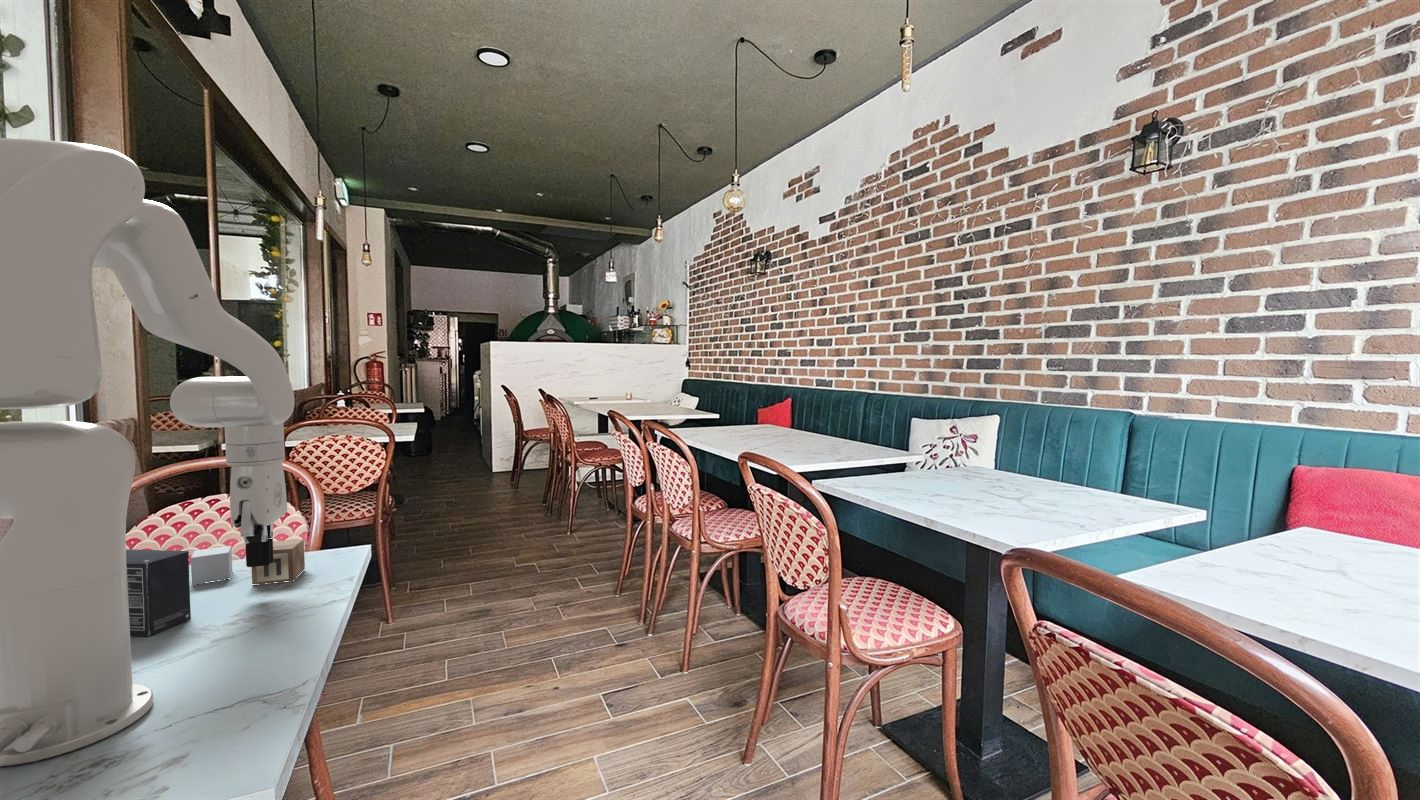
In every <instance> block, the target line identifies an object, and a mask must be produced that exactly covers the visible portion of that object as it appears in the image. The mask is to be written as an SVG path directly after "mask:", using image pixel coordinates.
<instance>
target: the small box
mask: <svg viewBox="0 0 1420 800" xmlns="http://www.w3.org/2000/svg"><path fill="white" fill-rule="evenodd" d="M189 554H190V551H189V550H167V549H166V550H165V549H161V550H160V549H129V548H126V565H127V580H128V601H129V622H130V637H144V636H145V637H146V638H147V637H151V636H153V635H155V634H158V633H161V632H162V631H165V630H168V629H170V628H173V627H175V626H177V625H179V624H182V623H184V622H187V621H189V620H191V619H192V616H191V615H192V613H191V594H190V593H191V591H190V590H191V589H190V588H191V587H190V563H189V561H190V558H189V557H190V555H189Z"/></svg>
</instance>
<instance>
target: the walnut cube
mask: <svg viewBox="0 0 1420 800" xmlns="http://www.w3.org/2000/svg"><path fill="white" fill-rule="evenodd" d="M273 558H274V560H273V562H272V563H271V564H269V565H267V566H257V567H251V585H252V584H265V583H274V582H284V581H293V580H295V579H296V577H297V576H298V575H299V574H300V573H301V572H302V571H303V570H304V569H305V568H306V566H305V539H303V538H302V539H301V538H300V539H291V540H288V539H287V540H275V541H274V540H273ZM305 570H306V569H305ZM296 580H297V579H296ZM296 580H295V581H296Z"/></svg>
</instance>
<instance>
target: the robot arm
mask: <svg viewBox="0 0 1420 800" xmlns="http://www.w3.org/2000/svg"><path fill="white" fill-rule="evenodd" d="M145 193H146V183H145V179H144V175H143V174H142V171H141V169H140V168H139V166H138V165H137V164H136V163H135V161H134V160H132V159H131V158H129V157H128V156H126V155H125V154H123V153H121V152H119V151H117V150H113V149H110V148H108V147H103V146H98V145H94V144H89V143H81V142H72V141H60V140H50V139H49V140H46V139H31V138H10V137H8V138H7V137H0V410H27V409H28V410H33V409H48V408H49V409H50V408H51V409H52V408H61V407H70V406H73V405H77V404H81V403H83V402H86V401H87V400H90V399H91V398H92V397H93V396H94V395H95V394H96V393H97V392H98V390H99V388H100V385H101V381H102V373H103V372H102V371H103V370H102V365H103V364H102V355H101V354H102V353H101V347H100V338H99V332H98V330H99V329H98V322H97V315H96V309H95V308H96V307H95V300H94V293H93V282H92V281H93V280H92V278H93V277H92V275H93V274H92V270H93V268H102V269H104V268H105V269H110V270H111V271H112V272H113V274H114V276H115V277H116V279H117V281H118V283H119V284H120V286H121V288H122V290H123V292H124V294H125V295H126V297H127V300H128V301H129V302H130V304H131V307H132V309H133V311H134V312H135V314H136V316H137V318H138V320H139V322H140V323H141V324H140V325H142V327H143V328H144V329H145V330H146V331H147V332H149V333H150V334H152V335H154V336H156V337H159V338H161V339H162V340H163V339H164V340H167V341H169V342H171V343H175V344H178V345H180V346H184V347H186V348H189V349H191V350H192V349H193V350H195V351H197V352H198V351H199V352H202V353H204V354H208V355H211V356H213V357H215V358H218V359H219V360H222V361H225V362H227V363H228V364H230V365H232V366H233V367H235V368H236V369H238V371H240V372H242V374H244V376H233V375H231V376H198V377H193V378H190V379H186V380H184V381H182V382H181V383H180V384H178V385H177V386H176V387H175V388H174V389H173V391H172V392H171V394H170V397H169V398H170V399H169V405H170V406H169V407H170V410H171V412H172V415H174V417H175V418H176V419H177V420H178V421H179V422H182V423H183V424H185V425H188V426H192V427H196V428H224V439H225V440H224V443H225V444H224V445H225V464H226V465H227V466H229V467H231V468H230V469H231V470H230V482H229V483H230V487H229V511H230V512H229V513H230V514H229V515H230V522H231V526H233V527H234V528H235V529H239V528H240V537H241V538H244V543H245V564H246V567H247V568H252V567H257V566H267V565H269V564H271V563H272V562H273V560H274V558H273V542H274V539H273V536H274V523H275V522H276V521H278V520H279V519H280V518H282V517H284V516H285V515H286V514H287V512H288V498H287V489H286V488H287V486H286V479H285V478H286V477H285V471H284V465H283V462H284V461H285V459H286V456H285V455H286V454H285V452H286V451H285V432H284V431H285V429H284V428H285V427H284V423H285V422H286V421H287V420H289V419H290V417H291V416H292V415H293V412H294V410H295V409H294V408H295V401H296V400H295V394H294V389H293V385H292V383H291V380H290V377H289V375H288V372H287V369H286V366H285V363H284V362H283V360H282V358H281V356H280V354H279V353H278V351H277V350H276V349H275V348H274V347H273V346H272V344H270V342H268V341H267V340H266V339H264V337H262V336H261V335H260V334H259V333H257V332H256V331H255V330H254V329H252V328H251V327H249V326H248V325H246V323H244V322H242V321H240V320H239V319H238V318H236V317H235V316H232V315H231V314H229V313H228V312H227V311H226V310H225V309H224V308H223V306H222V305H221V303H220V300H219V298H218V296H217V293H216V290H215V288H214V286H213V284H212V282H211V279H210V277H209V275H208V273H207V271H206V268H205V266H204V264H203V261H202V259H201V256H200V253H199V252H198V250H197V247H196V245H195V243H194V240H193V238H192V235H191V234H190V231H189V229H188V227H187V224H186V223H185V220H184V219H183V217H181V215H180V214H179V213H178V212H176V211H175V210H174V209H173V208H171V207H169V206H168V205H166V204H164V203H161V202H157V201H154V200H149V199H146V198H145ZM144 198H145V199H144ZM135 472H136V455H135V451H134V448H133V446H132V444H131V443H130V441H129V440H128V439H127V437H125V436H124V435H123V434H121V433H120V432H118V431H116V430H115V429H113V428H110V427H107V426H106V425H105V426H104V425H101V424H99V423H93V422H92V423H91V422H84V421H77V420H75V421H73V420H45V421H44V420H41V421H40V420H35V421H34V420H33V421H31V420H30V421H29V420H28V421H26V420H25V421H24V420H23V421H6V422H5V421H2V422H1V421H0V519H2V520H7V519H8V520H13V522H12V525H11V526H10V528H9V530H8V531H7V532H6V534H5V535H4V536H3V538H2V539H1V540H0V767H6V766H16V765H21V764H26V763H27V764H28V763H31V762H32V763H33V762H37V761H38V762H39V761H41V760H45V759H49V758H53V757H57V756H60V755H62V754H63V755H64V754H65V753H69V752H73V751H75V750H78V749H81V748H85V747H87V746H90V745H92V744H94V743H96V742H98V741H101V740H103V739H105V738H108V737H110V736H112V735H114V734H116V733H118V732H120V731H121V730H124V729H125V728H127V727H129V726H130V725H132V724H134V723H135V722H136V721H137V720H139V719H140V718H141V717H143V716H144V715H145V714H147V712H148V711H149V710H150V709H151V707H152V706H153V704H154V693H153V690H152V689H151V688H150V687H148V686H146V685H142V684H137V683H133V666H132V647H131V645H132V644H131V636H130V622H129V601H128V580H127V565H126V550H127V547H126V546H127V540H126V538H127V536H126V534H127V533H126V532H127V529H126V528H127V515H128V507H129V501H130V495H131V490H132V488H133V487H132V486H133V482H134V477H135Z"/></svg>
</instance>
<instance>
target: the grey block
mask: <svg viewBox="0 0 1420 800" xmlns="http://www.w3.org/2000/svg"><path fill="white" fill-rule="evenodd" d="M232 553H233V550H232V545H227V546H219V547H211V548H210V547H209V548H205V549H204V548H203V549H196V550H194V551H193V553H192V555H191V556H190V570H191V571H190V572H191V586H192V585H195V584H201V583H205V582H210V581H217V580H224V579H228V578H230V576H231V577H232V575H231V573H232V574H233V560H232V559H233V557H232V556H233V554H232ZM230 579H231V578H230ZM201 585H202V584H201ZM195 586H196V585H195Z"/></svg>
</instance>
